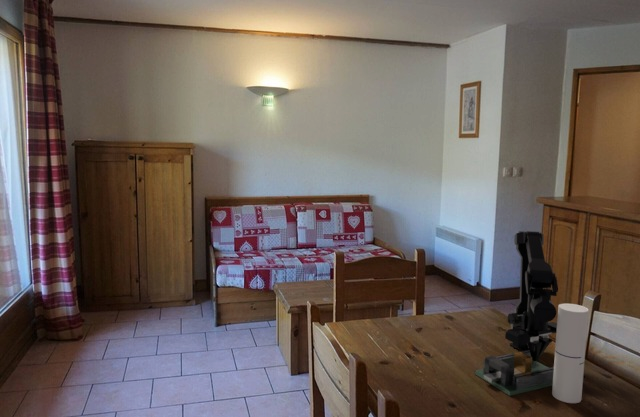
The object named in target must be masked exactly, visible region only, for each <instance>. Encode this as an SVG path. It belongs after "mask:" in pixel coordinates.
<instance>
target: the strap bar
mask: <svg viewBox="0 0 640 417" xmlns="http://www.w3.org/2000/svg"><path fill="white" fill-rule="evenodd" d="M522 352H523V351H518V352H513V353H514V376H515V375H519V374H524V373H528V372H531V368H532V357H530V356H528V355H526V354H524V353H522ZM484 379H486V380H488V381H489V382H491V383H493V382H498V381H501V372H500V371H499V372H494V373H489V374H485V375H484Z"/></svg>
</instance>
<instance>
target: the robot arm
mask: <svg viewBox="0 0 640 417" xmlns="http://www.w3.org/2000/svg"><path fill="white" fill-rule="evenodd" d="M544 236H545V235H544V233H542V232H540V231H529V230H527V231H524V230H523V231H522V230H521V231H520V230H519V231H518V232H517V233H515V235H514V240H513V242H514V245H515V249H516V252H517V253H518V255H519V256H520V278H519V279H520V280H519V301H518V302H517V304H515V307H514V312H512V313H511V312H510V313H508V314H507V323H508V324H509V325H510V328H509V329H507V330H506V331H505V335H504V336H505V338H504V339H506V340H507V341H510V342H511V343H509V345H510V346H512V347H513V348H515V349H517V350H520V352H523V351H528V350H529V351H530V354H531V357H532V360H533V361H537V362H538V360H539V359H540V358H541V356H542V354H544V352H545V350H546V349H547V347H549V345H550V344H551V343H553V341H554V340H553V339H551V338H550V335H552V334H556V331H557V322H554V321H553V320H554V319H555V318H556V316H557V309H556V306H555V305H554V303H553V302H552V297H557V296H558V294H557V293H558V292H559V286H558V285H559V284H558V279H557V276H556V274H555V272H553V268H552V265H551V264H549V263H548V262H546V257H545V253H544V248H543V246H544V245H545V244H544V243H545V242H544Z"/></svg>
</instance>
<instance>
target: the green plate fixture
mask: <svg viewBox="0 0 640 417" xmlns="http://www.w3.org/2000/svg"><path fill="white" fill-rule="evenodd" d="M521 352H522V353H524V354H526V355H528V356H530V357H531V354H530V351H529V350H528V351H521ZM514 353H515V352H513V353H509V354H503V355H500V356H494V355H492V356H486V357H484V359H483V367H482V368H480V369H475V371H474V374H475V375H476V376H477V377H479V378H480V379H483V380H484V381H485V382H487V383H489V384H490V385H492V386H493V387H495V388H496V389H498V390H500V391H501V392H502V393H504V394H506V395H507V396H515V395H520V394H524V393H528V392H532V391H536V390H540V389H544V388H548V387H551V386H553V373H554V366H551V367H549V366H546V365H545V364H542V363H540V362H538V361H533V360H532V368H531V372H528V373H524V374H519V375H515V376H514ZM499 371H500V372H501V381H498V382H493V383H491V382H489V381H488V380H486V379H484V375H485V374H489V373H494V372H499Z"/></svg>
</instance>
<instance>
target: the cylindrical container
mask: <svg viewBox="0 0 640 417" xmlns="http://www.w3.org/2000/svg"><path fill="white" fill-rule="evenodd" d="M557 306H558V307H557V318H556V319H557V320H556V323H557V331H556V333H555V334H556V336H555V346H554V348H555V349H554V363H553V367H554V373H553V386H552V390H551V394H552V396H553V397H554V398H555V399H556V400H558V401H560V402H563V403H568V404H577V403H581V401H582V398H583V397H582V396H583V395H582V394H583V385H584V384H583V383H584V373H585V372H584V370H585V358H586V348H587V335H588V334H587V333H588V321H589V308H587V307H586V306H584V305H579V304H576V303H559V304H558V305H557Z"/></svg>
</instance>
